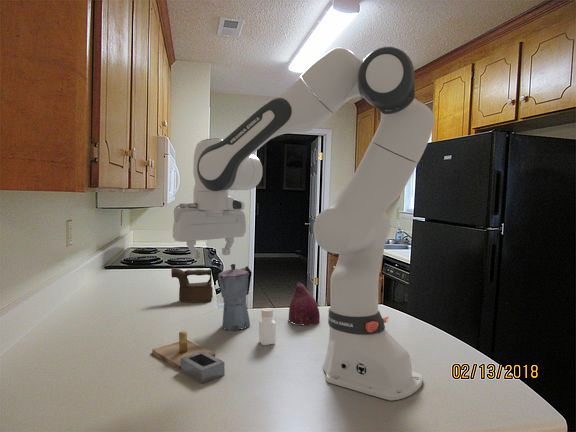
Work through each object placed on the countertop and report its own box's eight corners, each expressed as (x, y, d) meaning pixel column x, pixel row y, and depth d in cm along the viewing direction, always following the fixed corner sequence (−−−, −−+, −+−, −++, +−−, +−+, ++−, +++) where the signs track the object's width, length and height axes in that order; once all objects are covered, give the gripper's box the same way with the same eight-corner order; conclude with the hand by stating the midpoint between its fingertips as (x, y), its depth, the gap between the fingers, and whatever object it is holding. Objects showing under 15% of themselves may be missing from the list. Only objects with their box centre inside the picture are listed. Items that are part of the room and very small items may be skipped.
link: (224, 374, 87) (224, 361, 87) (201, 383, 83) (201, 370, 83) (202, 362, 93) (202, 350, 93) (180, 370, 89) (180, 358, 89)
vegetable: (303, 337, 120) (298, 295, 116) (283, 324, 128) (277, 284, 124) (327, 322, 126) (323, 282, 122) (306, 311, 134) (302, 273, 130)
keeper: (215, 357, 97) (215, 334, 96) (179, 370, 90) (179, 344, 89) (186, 343, 106) (186, 321, 106) (152, 353, 99) (151, 330, 99)
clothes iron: (173, 298, 155) (172, 266, 154) (212, 296, 158) (212, 264, 157) (171, 304, 147) (170, 269, 146) (213, 301, 150) (212, 268, 150)
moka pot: (208, 330, 117) (208, 265, 116) (238, 316, 130) (237, 259, 130) (234, 335, 112) (233, 268, 112) (261, 321, 126) (261, 261, 125)
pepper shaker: (271, 339, 109) (271, 306, 109) (276, 344, 105) (276, 310, 105) (258, 341, 108) (258, 308, 107) (262, 346, 104) (262, 312, 104)
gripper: (180, 203, 88) (181, 262, 89) (249, 203, 103) (249, 254, 103) (167, 203, 93) (168, 259, 93) (235, 202, 107) (235, 251, 108)
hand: (211, 256), depth 99 cm, fingers open, 8 cm apart
